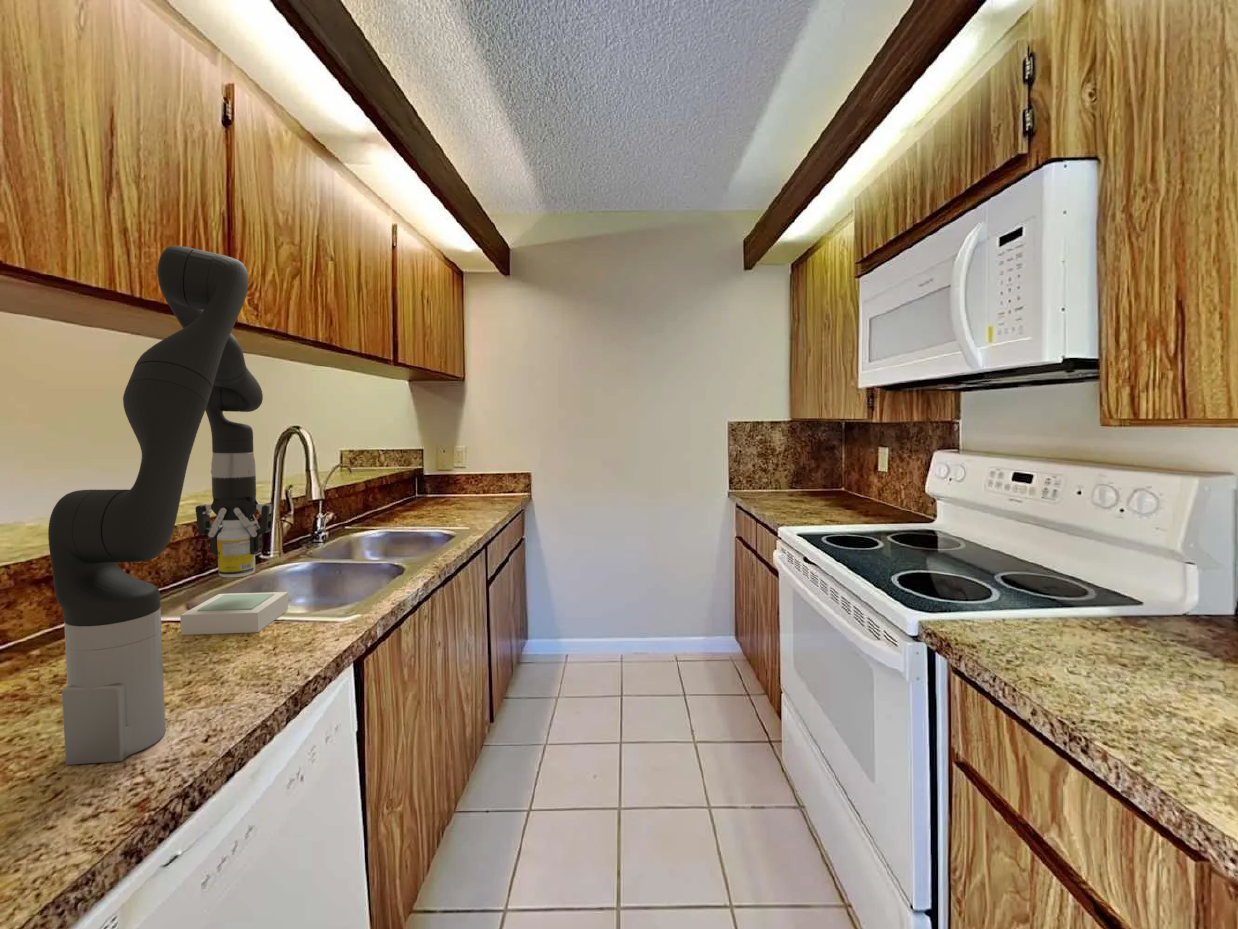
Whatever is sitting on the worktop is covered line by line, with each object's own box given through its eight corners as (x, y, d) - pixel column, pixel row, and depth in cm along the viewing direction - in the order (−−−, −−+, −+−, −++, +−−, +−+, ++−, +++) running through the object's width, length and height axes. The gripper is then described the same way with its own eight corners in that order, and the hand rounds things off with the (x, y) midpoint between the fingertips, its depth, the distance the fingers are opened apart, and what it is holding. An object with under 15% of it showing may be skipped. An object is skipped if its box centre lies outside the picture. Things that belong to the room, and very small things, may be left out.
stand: (258, 632, 113) (257, 611, 112) (181, 635, 111) (180, 613, 110) (288, 609, 127) (287, 590, 126) (219, 611, 124) (219, 592, 124)
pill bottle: (235, 569, 121) (233, 516, 121) (263, 570, 121) (261, 516, 120) (210, 577, 115) (208, 521, 114) (239, 578, 114) (237, 522, 114)
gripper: (279, 473, 121) (281, 549, 122) (206, 472, 119) (208, 550, 120) (263, 476, 114) (265, 557, 115) (184, 476, 112) (187, 559, 113)
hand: (236, 553), depth 118 cm, fingers closed on pill bottle, 6 cm apart
